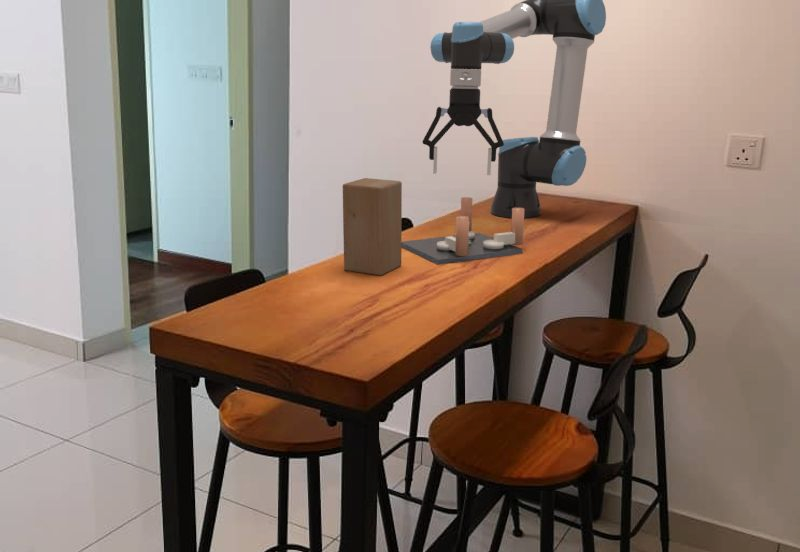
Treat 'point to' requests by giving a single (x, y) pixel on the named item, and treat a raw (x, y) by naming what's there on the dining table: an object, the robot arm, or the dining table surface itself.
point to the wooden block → (372, 225)
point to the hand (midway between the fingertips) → (461, 173)
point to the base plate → (475, 251)
